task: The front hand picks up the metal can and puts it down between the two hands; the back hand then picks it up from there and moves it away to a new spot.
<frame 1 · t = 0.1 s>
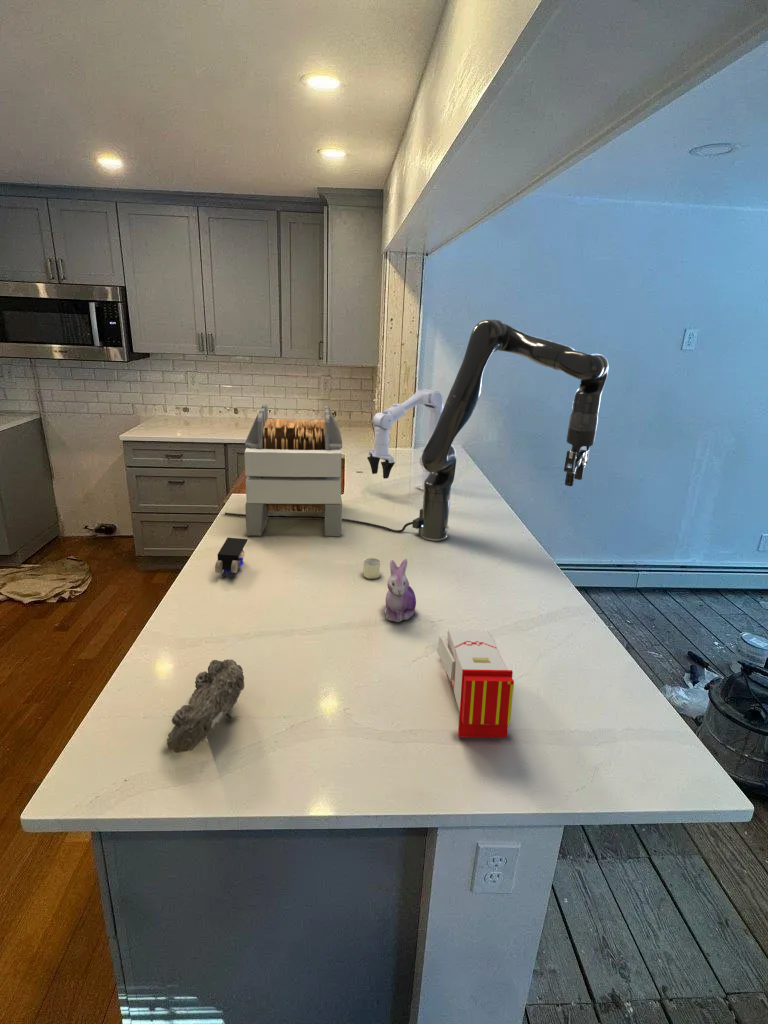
front hand: (573, 482, 165), 29 cm above the counter, tool pointing down, fingers open, 8 cm apart
back hand: (380, 475, 232), 10 cm above the counter, tool pointing down, fingers open, 7 cm apart
toy: (469, 691, 119), on the counter
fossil: (212, 717, 108), on the counter
can: (371, 575, 168), on the counter
grey crate: (296, 519, 209), on the counter
figurine character: (232, 569, 168), on the counter
figurine: (399, 614, 147), on the counter
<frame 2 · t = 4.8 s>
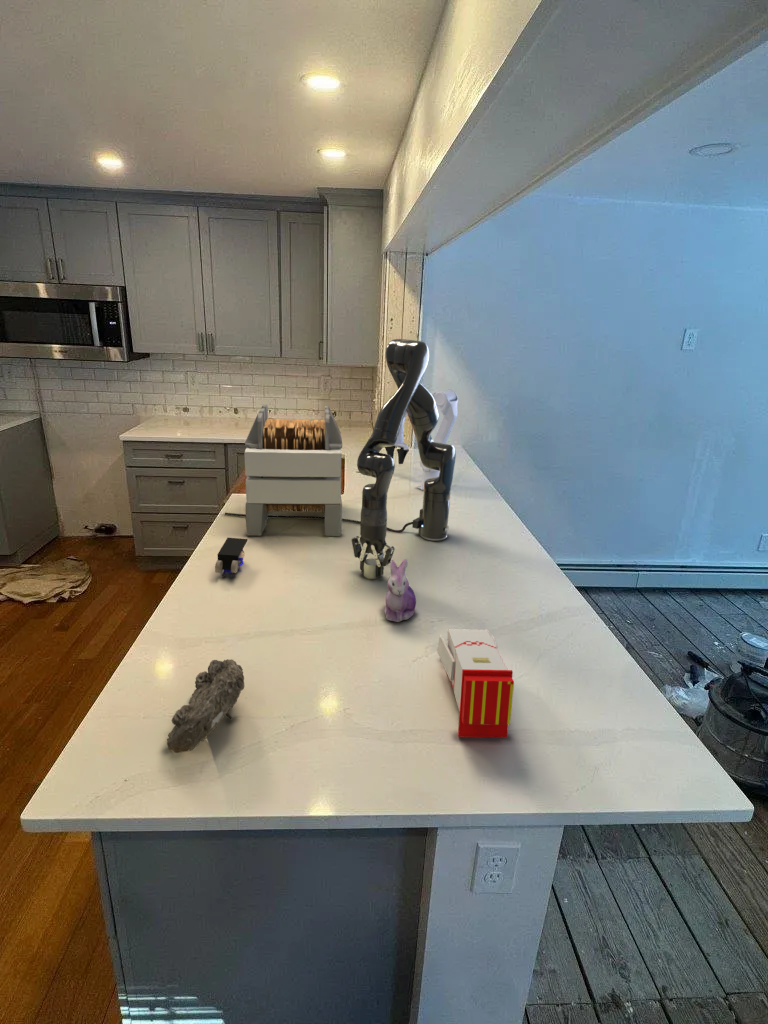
front hand: (371, 574, 168), 0 cm above the counter, tool pointing down, fingers closed on can, 4 cm apart
back hand: (395, 461, 259), 9 cm above the counter, tool pointing down, fingers open, 7 cm apart
can: (371, 575, 168), on the counter, touching front hand
everything else where it was.
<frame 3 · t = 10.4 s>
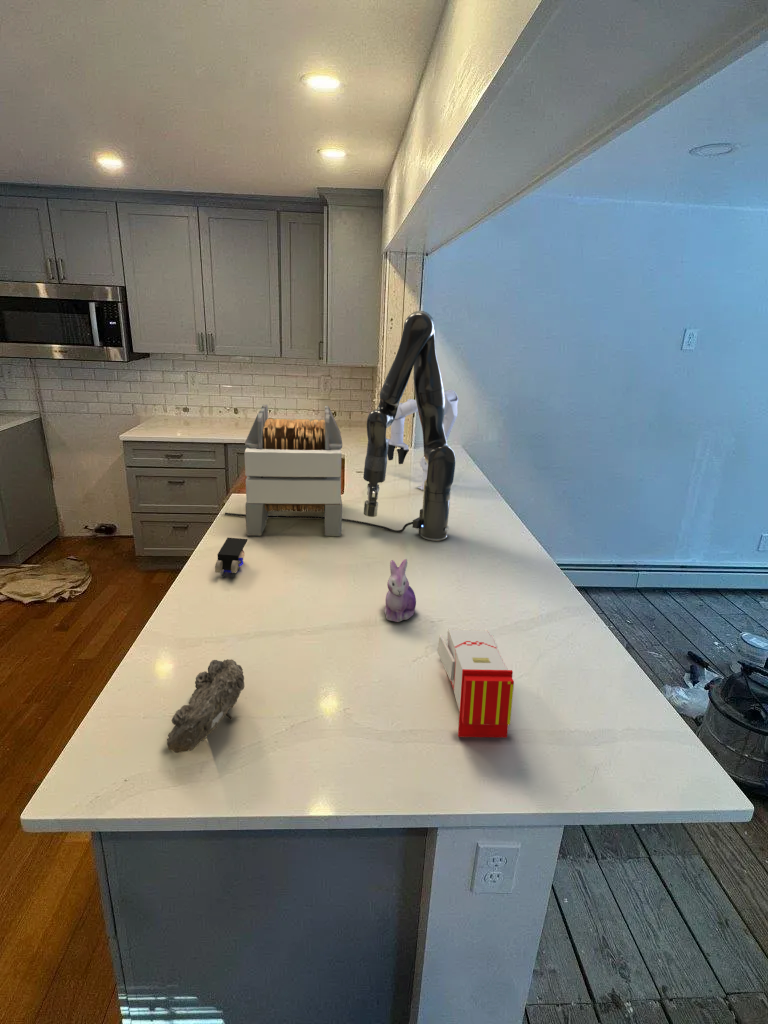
front hand: (370, 513, 199), 7 cm above the counter, tool pointing down, fingers closed on can, 4 cm apart
back hand: (395, 461, 259), 9 cm above the counter, tool pointing down, fingers open, 7 cm apart
can: (370, 514, 199), point 6 cm above the counter, touching front hand
everything else where it was.
when the front hand's fingers open (1 cm above the counter, at t = 16.4 s): can stays where it is, on the counter.
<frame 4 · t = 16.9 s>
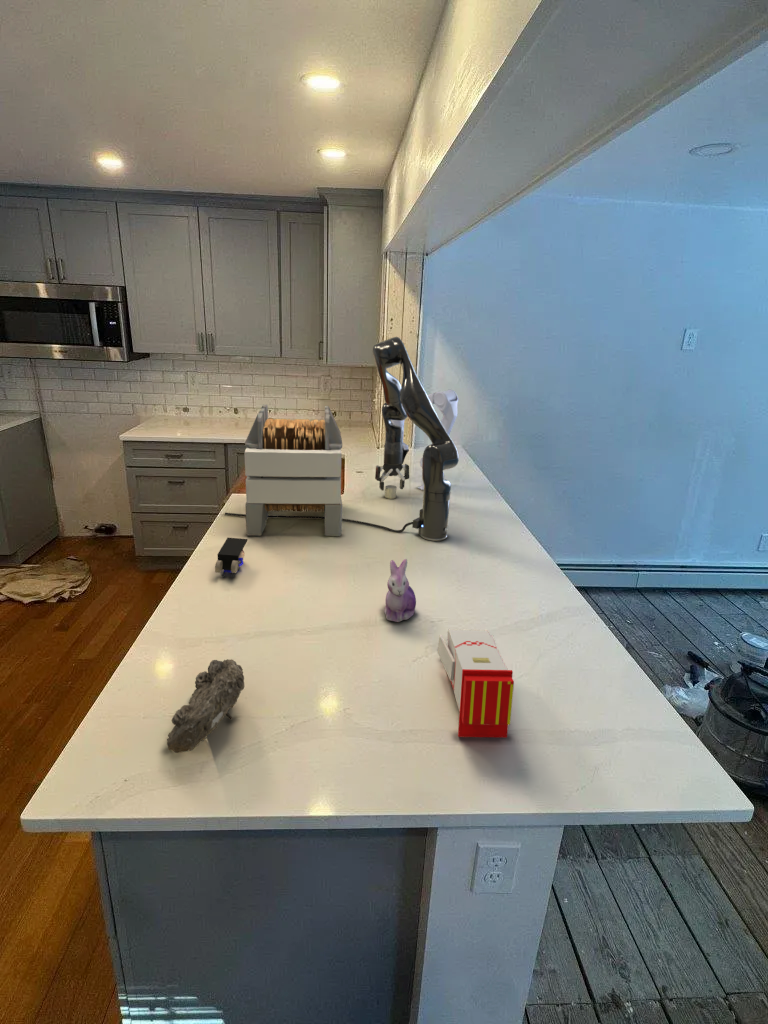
front hand: (391, 489, 237), 3 cm above the counter, tool pointing down, fingers open, 8 cm apart
back hand: (395, 461, 259), 9 cm above the counter, tool pointing down, fingers open, 7 cm apart
can: (390, 497, 238), on the counter
everything else where it was.
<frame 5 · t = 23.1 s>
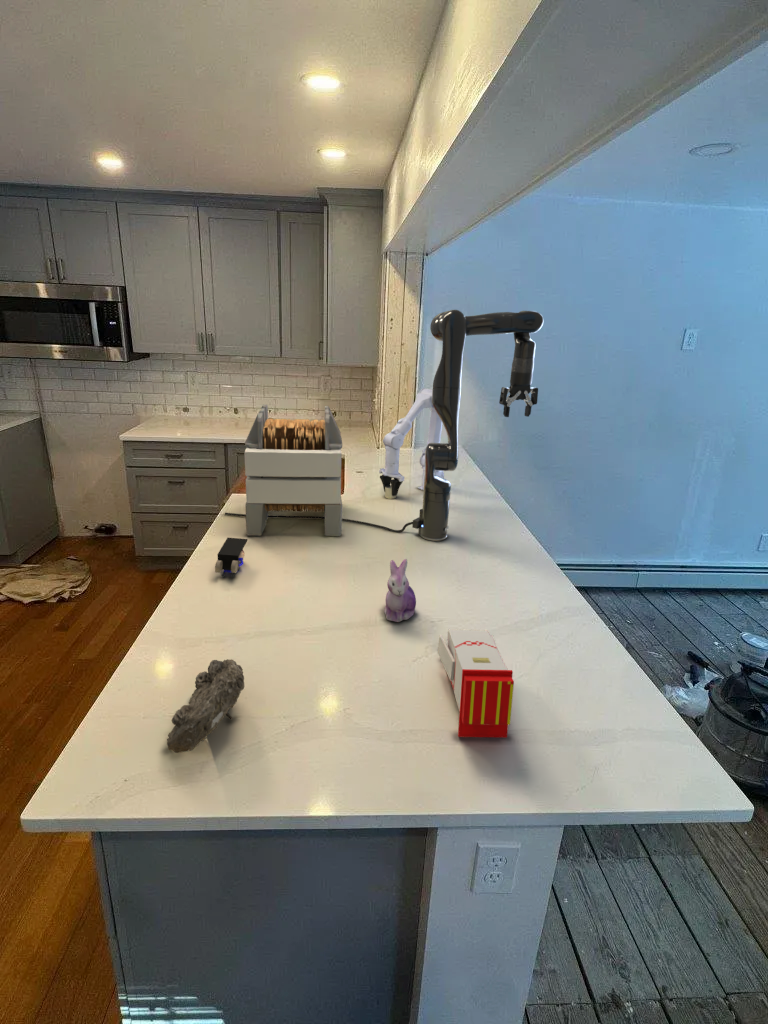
front hand: (516, 416, 205), 40 cm above the counter, tool pointing down, fingers open, 8 cm apart
back hand: (390, 493, 238), 2 cm above the counter, tool pointing down, fingers closed on can, 5 cm apart
can: (390, 497, 238), on the counter, touching back hand
everything else where it was.
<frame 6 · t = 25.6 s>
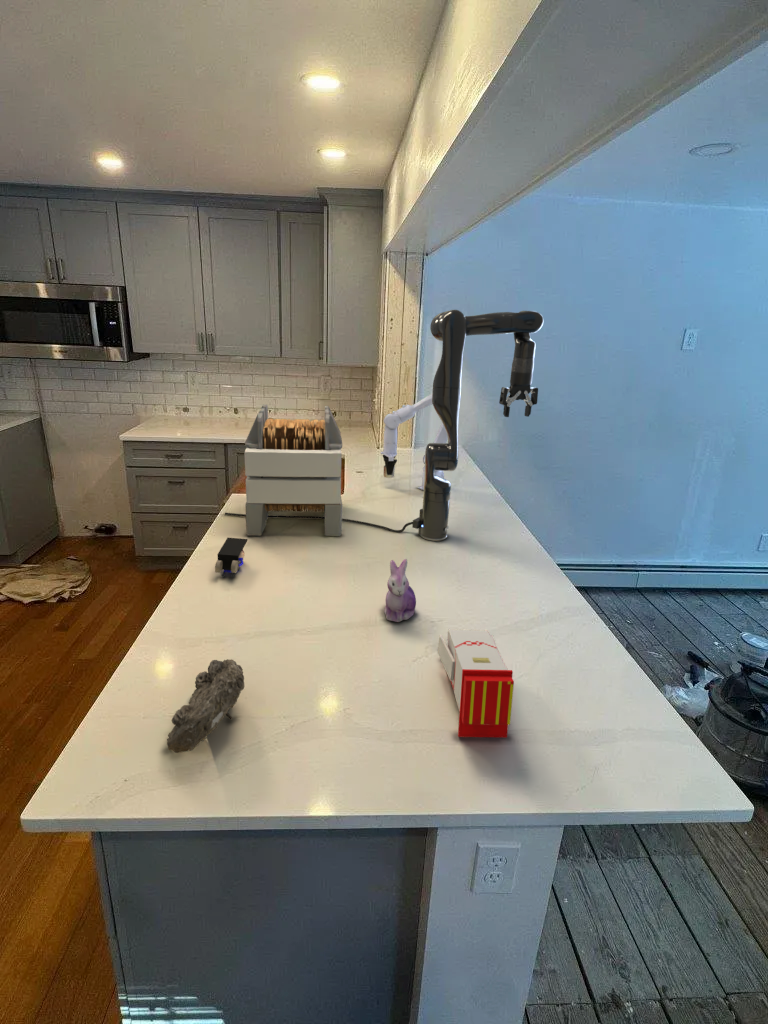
front hand: (516, 416, 205), 40 cm above the counter, tool pointing down, fingers open, 8 cm apart
back hand: (388, 472, 247), 7 cm above the counter, tool pointing down, fingers closed on can, 5 cm apart
can: (388, 476, 247), point 6 cm above the counter, touching back hand
everything else where it was.
when the back hand's fingers open (2 cm above the counter, at t = 28.1 s): can stays where it is, on the counter.
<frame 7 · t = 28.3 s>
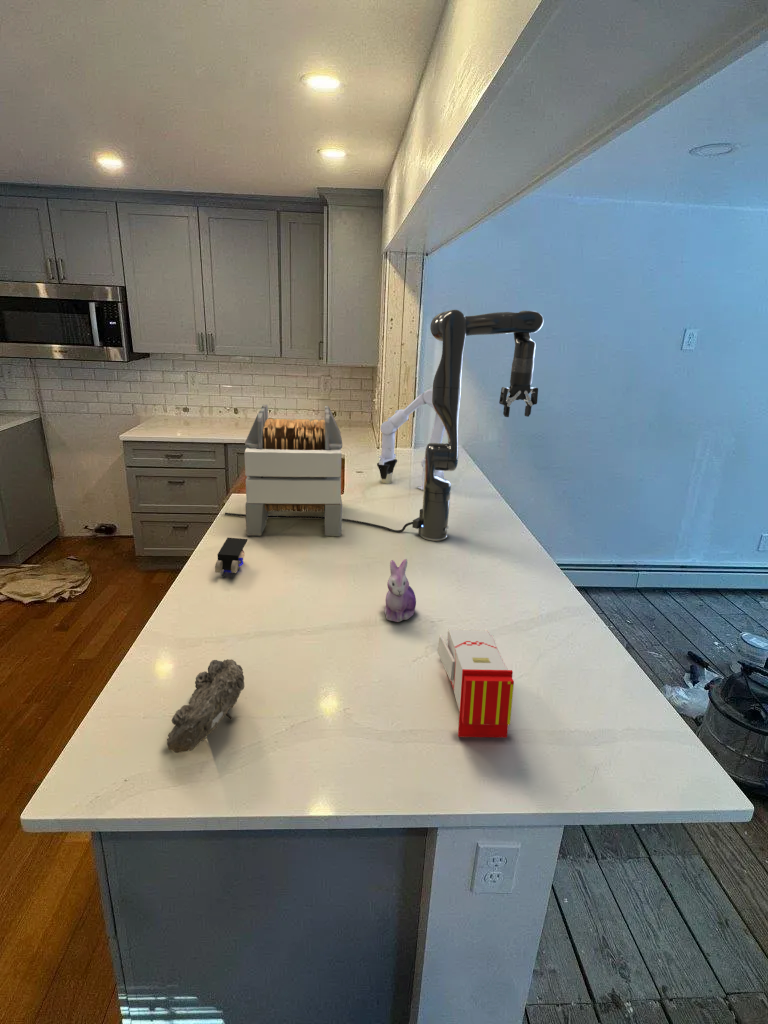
front hand: (516, 416, 205), 40 cm above the counter, tool pointing down, fingers open, 8 cm apart
back hand: (386, 476, 258), 3 cm above the counter, tool pointing down, fingers open, 7 cm apart
can: (386, 482, 259), on the counter
everything else where it was.
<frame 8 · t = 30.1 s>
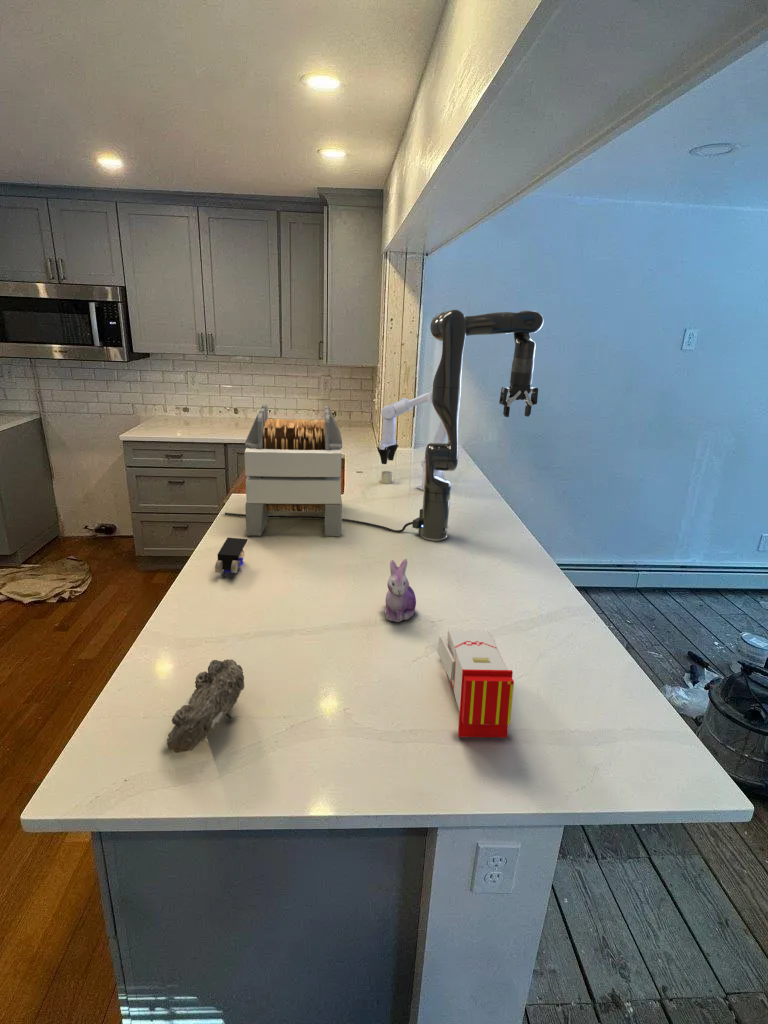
front hand: (516, 416, 205), 40 cm above the counter, tool pointing down, fingers open, 8 cm apart
back hand: (387, 462, 256), 9 cm above the counter, tool pointing down, fingers open, 7 cm apart
nothing on the counter moved.
at the end: can inside the target area (0.0 cm from its centre), on the counter; can tilted 0°; the two hands never held the can at the same time; the front hand is holding nothing; the back hand is holding nothing; can at rest at the end (0.0 cm/s) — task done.
